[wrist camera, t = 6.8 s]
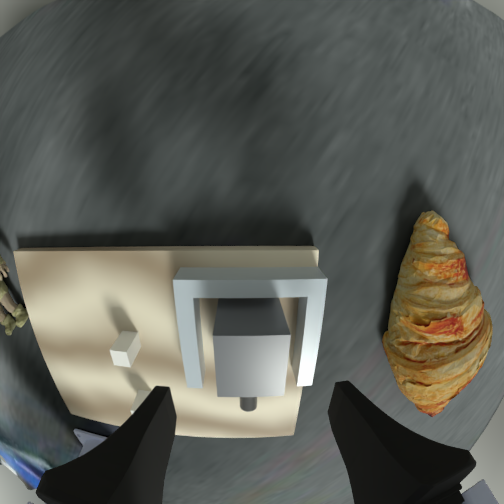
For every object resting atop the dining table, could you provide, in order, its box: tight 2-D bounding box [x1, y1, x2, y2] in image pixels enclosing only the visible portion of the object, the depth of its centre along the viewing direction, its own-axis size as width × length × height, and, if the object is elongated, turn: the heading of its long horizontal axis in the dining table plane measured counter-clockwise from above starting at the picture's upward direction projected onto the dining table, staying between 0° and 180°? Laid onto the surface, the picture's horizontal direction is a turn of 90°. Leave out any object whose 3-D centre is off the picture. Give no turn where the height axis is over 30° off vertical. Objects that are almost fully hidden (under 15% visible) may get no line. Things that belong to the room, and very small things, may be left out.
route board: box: [13, 246, 319, 438], centre depth 18 cm, size 17×22×1 cm
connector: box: [213, 298, 291, 412], centre depth 15 cm, size 8×4×4 cm, turn 179°
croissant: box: [382, 211, 492, 417], centre depth 17 cm, size 21×10×8 cm, turn 22°
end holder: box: [173, 267, 327, 388], centre depth 16 cm, size 8×8×2 cm
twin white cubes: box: [110, 331, 151, 414], centre depth 16 cm, size 7×1×2 cm, turn 179°
